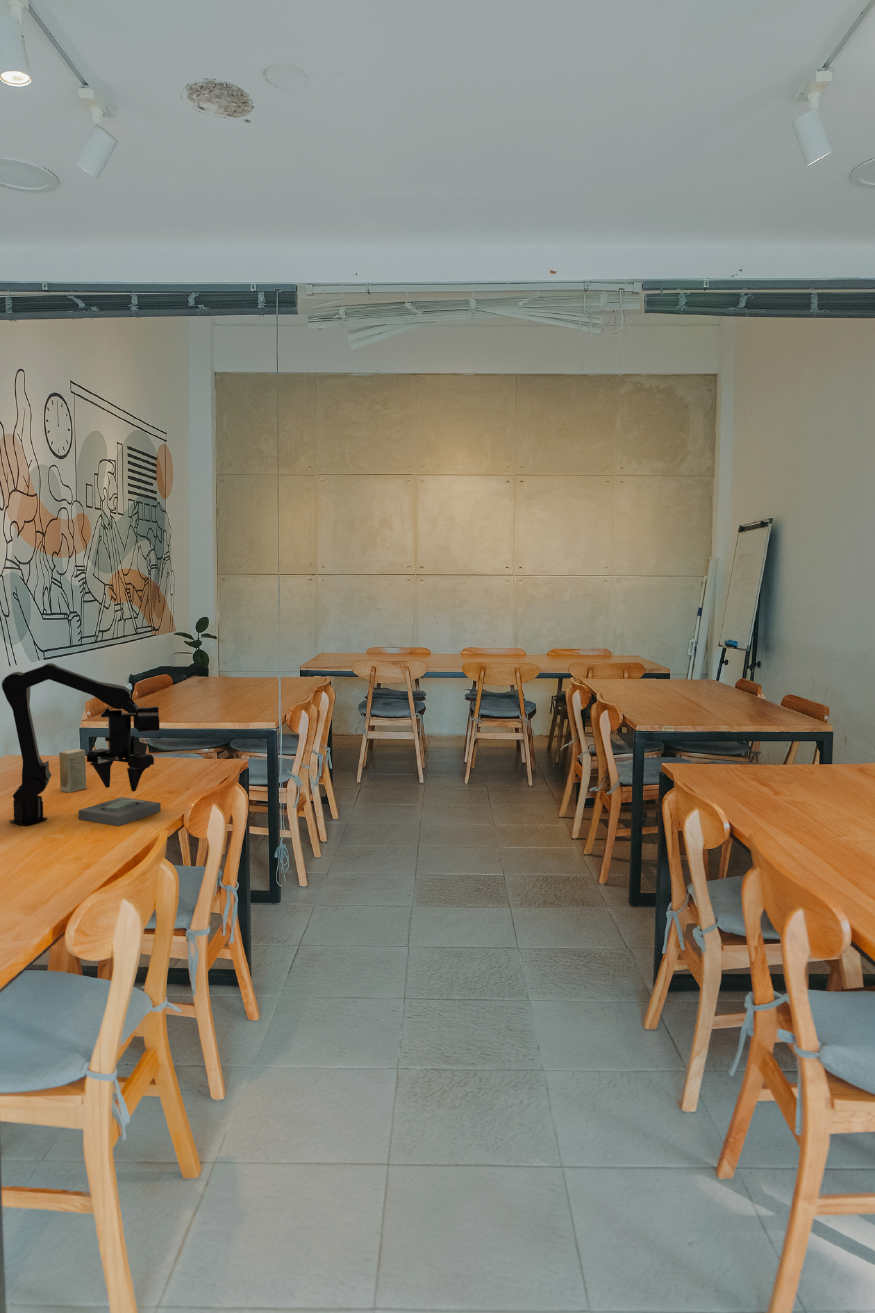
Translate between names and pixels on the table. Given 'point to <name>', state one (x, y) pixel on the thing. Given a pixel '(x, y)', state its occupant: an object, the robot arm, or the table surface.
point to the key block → (120, 805)
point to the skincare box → (72, 770)
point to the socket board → (119, 812)
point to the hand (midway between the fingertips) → (120, 789)
